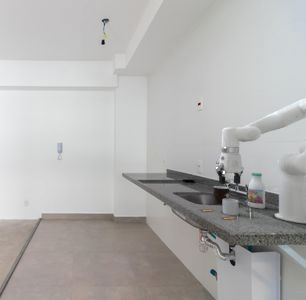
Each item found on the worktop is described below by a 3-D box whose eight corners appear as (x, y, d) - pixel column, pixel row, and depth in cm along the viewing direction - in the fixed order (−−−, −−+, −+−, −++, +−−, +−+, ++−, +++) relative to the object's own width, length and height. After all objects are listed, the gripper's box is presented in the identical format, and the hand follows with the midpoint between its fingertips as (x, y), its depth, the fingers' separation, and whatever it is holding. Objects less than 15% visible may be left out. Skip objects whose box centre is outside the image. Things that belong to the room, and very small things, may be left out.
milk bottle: (252, 204, 127) (252, 172, 127) (267, 208, 120) (268, 173, 120) (245, 206, 123) (245, 172, 123) (260, 209, 116) (261, 174, 116)
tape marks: (211, 210, 114) (211, 209, 114) (235, 218, 101) (235, 218, 101) (201, 210, 113) (201, 210, 113) (225, 219, 99) (225, 218, 99)
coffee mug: (223, 201, 135) (223, 186, 135) (233, 204, 126) (233, 188, 126) (205, 201, 134) (205, 186, 134) (214, 205, 126) (214, 188, 126)
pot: (229, 211, 113) (229, 198, 113) (241, 215, 106) (241, 201, 106) (219, 212, 111) (219, 199, 111) (231, 215, 105) (231, 202, 105)
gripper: (223, 150, 103) (222, 185, 103) (250, 151, 107) (249, 184, 107) (210, 150, 110) (209, 182, 110) (236, 151, 114) (235, 182, 114)
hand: (229, 183), depth 108 cm, fingers open, 9 cm apart
